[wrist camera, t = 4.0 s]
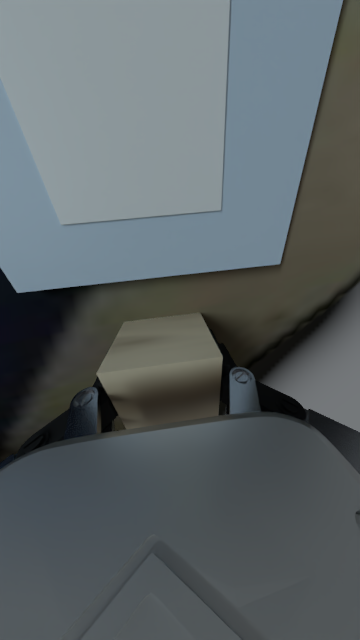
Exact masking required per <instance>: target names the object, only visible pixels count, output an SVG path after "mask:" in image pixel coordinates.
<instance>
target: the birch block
mask: <svg viewBox="0 0 360 640" xmlns="http://www.w3.org/2000/svg"><path fill="white" fill-rule="evenodd" d="M222 361H223V356H222V354H221V352H220V350H219V348H218V346H217V344H216V343H215V341H214V339H213V337H212V335H211V333H210V331H209V329H208V327H207V325H206V323H205V321H204V319H203V317H202V315H201V313H194V314H186V315H177V316H169V317H161V318H153V319H144V320H136V321H128V322H124V323H123V325H122V327H121V329H120V331H119V332H118V334H117V336H116V338H115V340H114V342H113V344H112V345H111V347H110V349H109V351H108V353H107V355H106V357H105V358H104V360H103V362H102V364H101V366H100V368H99V370H98V371H97V373H96V374H97V376H98V378H99V380H100V381H101V383H102V385H103V387H104V389H105V391H106V392H107V394H108V396H109V398H110V400H111V402H112V404H113V405H114V407H115V409H116V411H117V413H118V415H119V416H120V418H121V420H122V422H123V424H124V426H125V428H126V429H133V428H139V427H146V426H153V425H159V424H166V423H173V422H180V421H186V420H193V419H200V418H207V417H214V416H218V413H219V400H220V387H221V374H222Z"/></svg>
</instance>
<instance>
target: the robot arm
mask: <svg viewBox="0 0 360 640" xmlns="http://www.w3.org/2000/svg"><path fill="white" fill-rule="evenodd" d="M209 331H210V333H211V335H212V337H213V339H214V341H215V343H216V344H217V346H218V348H219V350H220V352H221V354H222V356H223V361H222V374H221V387H220V400H219V401H221V400H222V402H223V403H225V404H226V415H221V416H214V417H207V418H200V419H193V420H186V421H180V422H173V423H166V424H159V425H153V426H146V427H139V428H133V429H126V430H120V431H115V425H114V419H115V418H116V416H118V413H117V411H116V409H115V407H114V405H113V404H112V402H111V400H110V398H109V396H108V394H107V392H106V391H105V389H104V387H103V385H102V383H101V381H100V380H99V378H98V377H97V379H96V381H95V383H94V385H93V387H89V388H85V389H83V390H81V391H80V392H79V393H77V394H76V395H75V396H74V398H73V399H72V401H71V404H70V409H68V410H67V411H65V412H64V413H63V414H61V415H60V416H58V417H57V418H56V419H54V420H53V421H52V422H50V423H49V424H47V425H46V426H45V427H43V428H42V429H40V430H39V431H38V432H36V433H35V434H33V435H32V436H31V437H30V438H29V439H28V440H27V441H26V442H25V443H24V444H23V445H22V446H21V448H20V449H19V451H18V453H17V454H16V455H15V454H12V455H10V456H9V457H8V458H6V459H5V460H3V461H2V462H1V463H0V640H360V432H358V431H356V430H353V429H351V428H349V427H347V426H345V425H343V424H341V423H339V422H336V421H334V420H332V419H330V418H328V417H326V416H324V415H321V414H319V413H317V412H315V411H313V410H310V409H309V410H306V409H304V408H303V407H302V405H301V404H300V403H299V402H298V401H296V400H295V399H293V398H292V397H290V396H287V395H285V394H283V393H281V392H279V391H277V390H275V389H272V388H270V387H268V386H266V385H264V384H262V383H260V382H258V381H255V378H254V376H253V374H252V373H251V372H250V371H249V370H247V369H245V368H242V367H237V366H236V364H235V363H234V361H233V359H232V357H231V356H230V354H229V352H228V351H227V349H226V347H225V346H224V344H223V343H221V344H219V343H218V342H217V340H216V338H215V336H214V334H213V332H212V330H211V329H209Z"/></svg>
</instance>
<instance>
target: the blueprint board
mask: <svg viewBox="0 0 360 640" xmlns="http://www.w3.org/2000/svg"><path fill="white" fill-rule="evenodd" d="M342 3H343V0H0V267H1V269H2V270H3V272H4V273H5V275H6V276H7V278H8V279H9V281H10V282H11V284H12V285H13V287H14V288H15V290H16V291H17V293H20V292H29V291H38V290H48V289H57V288H66V287H75V286H84V285H93V284H102V283H112V282H121V281H130V280H139V279H148V278H157V277H167V276H176V275H185V274H194V273H203V272H212V271H222V270H231V269H240V268H249V267H258V266H267V265H277V264H280V263H281V258H282V254H283V250H284V246H285V242H286V237H287V233H288V229H289V225H290V221H291V216H292V212H293V208H294V204H295V200H296V195H297V191H298V187H299V183H300V179H301V174H302V170H303V166H304V162H305V158H306V153H307V149H308V145H309V141H310V137H311V133H312V128H313V124H314V120H315V116H316V112H317V107H318V103H319V99H320V95H321V91H322V86H323V82H324V78H325V74H326V70H327V65H328V61H329V57H330V53H331V49H332V44H333V40H334V36H335V32H336V28H337V24H338V19H339V15H340V11H341V7H342Z"/></svg>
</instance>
